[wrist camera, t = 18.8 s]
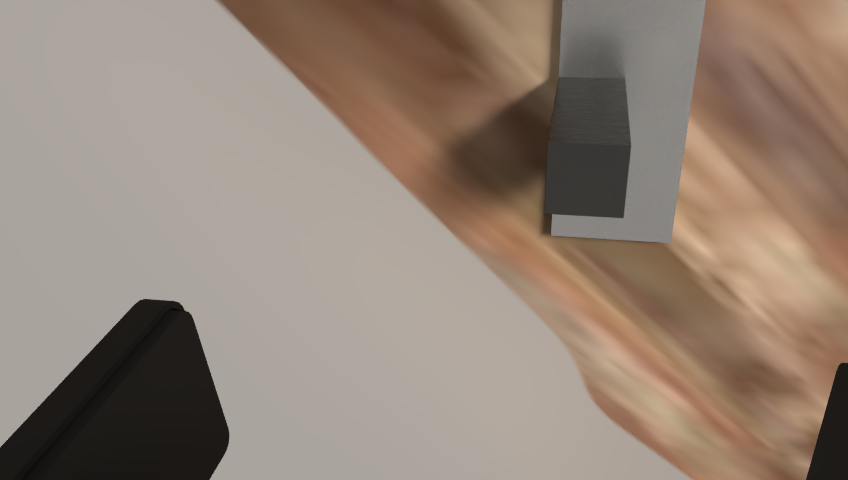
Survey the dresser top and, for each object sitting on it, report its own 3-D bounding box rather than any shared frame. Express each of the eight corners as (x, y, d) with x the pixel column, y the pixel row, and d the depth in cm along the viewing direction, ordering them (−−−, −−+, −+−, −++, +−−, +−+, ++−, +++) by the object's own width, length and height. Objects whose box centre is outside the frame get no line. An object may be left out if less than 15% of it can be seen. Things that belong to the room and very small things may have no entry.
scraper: (552, 226, 38) (539, 326, 31) (565, -53, 31) (554, -12, 24) (669, 233, 37) (686, 339, 30) (710, -55, 30) (746, -13, 23)
